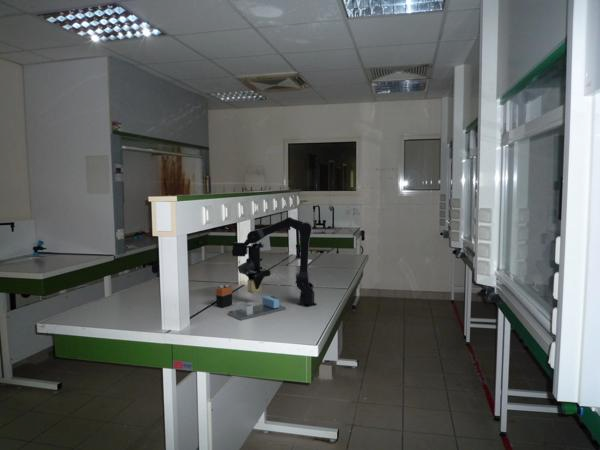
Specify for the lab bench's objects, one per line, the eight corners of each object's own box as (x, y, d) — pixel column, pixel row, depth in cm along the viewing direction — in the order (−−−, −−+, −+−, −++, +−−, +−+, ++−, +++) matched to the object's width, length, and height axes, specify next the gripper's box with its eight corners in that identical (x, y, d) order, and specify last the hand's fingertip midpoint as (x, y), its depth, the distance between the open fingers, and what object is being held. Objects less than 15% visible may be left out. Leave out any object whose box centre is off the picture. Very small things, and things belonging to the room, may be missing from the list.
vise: (271, 304, 201) (271, 294, 201) (285, 309, 193) (285, 298, 193) (228, 314, 186) (227, 303, 185) (241, 320, 178) (241, 308, 177)
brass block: (258, 289, 206) (257, 277, 205) (262, 291, 203) (261, 279, 203) (247, 291, 202) (247, 279, 201) (251, 293, 199) (251, 280, 199)
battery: (216, 306, 198) (215, 286, 198) (226, 303, 204) (225, 283, 203) (222, 308, 196) (222, 287, 195) (232, 304, 202) (232, 284, 201)
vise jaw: (270, 302, 199) (270, 294, 199) (281, 306, 193) (281, 298, 192) (262, 304, 197) (262, 296, 196) (273, 308, 190) (273, 299, 189)
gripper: (229, 256, 203) (230, 287, 204) (251, 260, 189) (251, 294, 190) (249, 253, 210) (249, 284, 211) (271, 258, 196) (271, 290, 197)
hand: (254, 288), depth 202 cm, fingers closed on brass block, 3 cm apart
